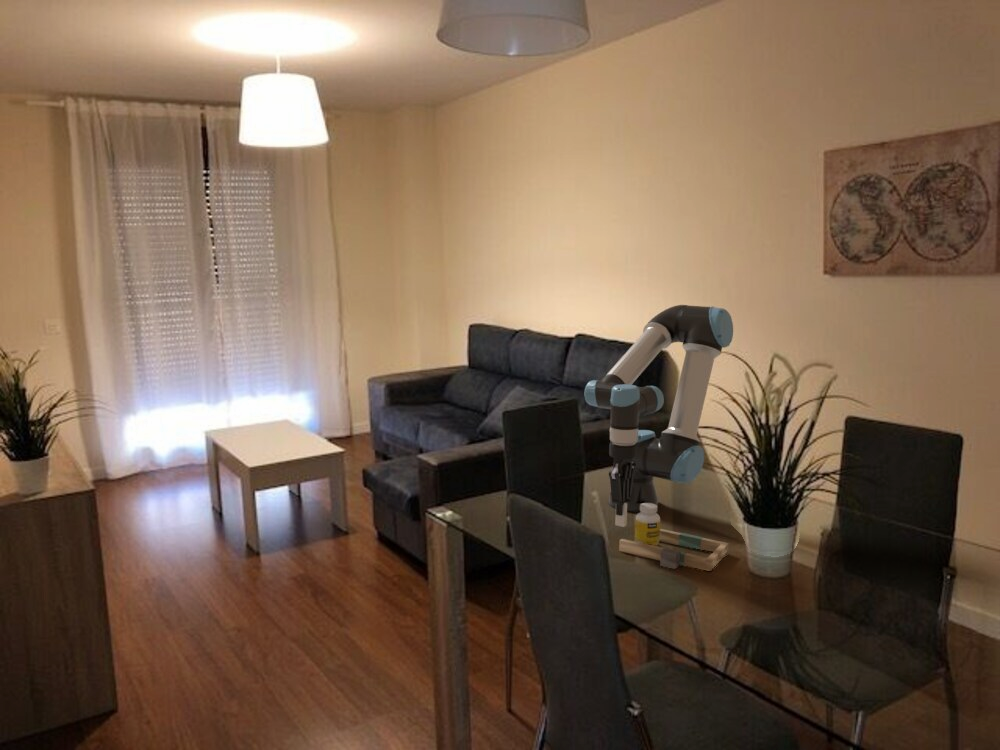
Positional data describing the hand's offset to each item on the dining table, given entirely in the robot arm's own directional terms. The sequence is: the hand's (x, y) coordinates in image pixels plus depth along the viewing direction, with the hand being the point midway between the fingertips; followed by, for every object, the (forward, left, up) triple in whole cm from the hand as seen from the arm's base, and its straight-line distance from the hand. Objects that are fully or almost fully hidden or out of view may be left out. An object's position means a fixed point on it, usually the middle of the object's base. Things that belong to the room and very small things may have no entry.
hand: (620, 525), depth 225 cm
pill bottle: (0, +8, -5) cm, 9 cm away
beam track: (+2, +15, -4) cm, 16 cm away
